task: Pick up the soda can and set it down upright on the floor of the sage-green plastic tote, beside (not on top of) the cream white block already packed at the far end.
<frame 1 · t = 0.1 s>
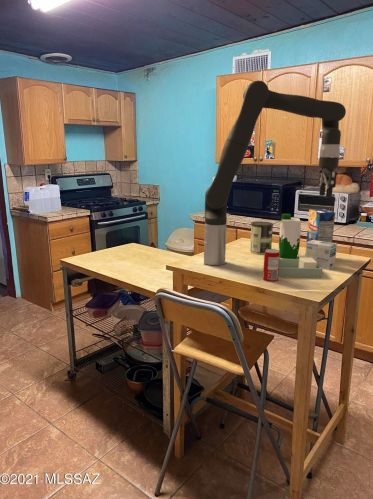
hand: (325, 196, 160), 29 cm above the table, tool pointing down, fingers open, 8 cm apart
cream white block: (306, 271, 154), point 1 cm above the table, touching tote
beverage box: (317, 259, 176), on the table
milk carton: (288, 258, 177), on the table
coffee can: (260, 252, 187), on the table
tote: (294, 273, 155), on the table
light bulb box: (319, 267, 163), on the table
soda can: (270, 281, 145), on the table
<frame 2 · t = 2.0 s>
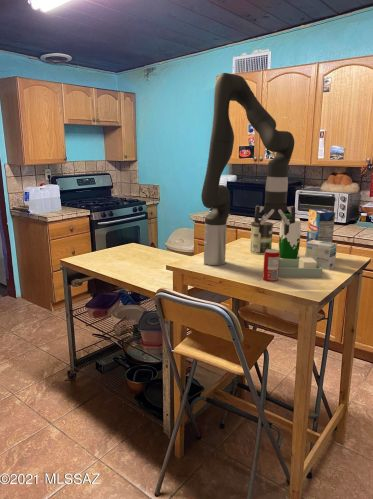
hand: (273, 234, 141), 18 cm above the table, tool pointing down, fingers open, 8 cm apart
nothing on the table moved.
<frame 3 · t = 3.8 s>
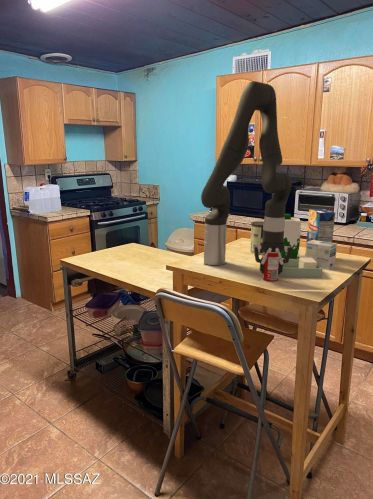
hand: (270, 273, 144), 3 cm above the table, tool pointing down, fingers closed on soda can, 5 cm apart
soda can: (270, 281, 145), on the table, touching gripper
everything else where it was.
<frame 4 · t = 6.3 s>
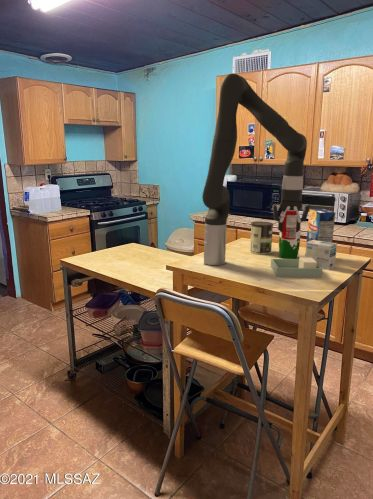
hand: (288, 231, 150), 17 cm above the table, tool pointing down, fingers closed on soda can, 5 cm apart
soda can: (288, 239, 151), point 14 cm above the table, touching gripper
everything else where it was.
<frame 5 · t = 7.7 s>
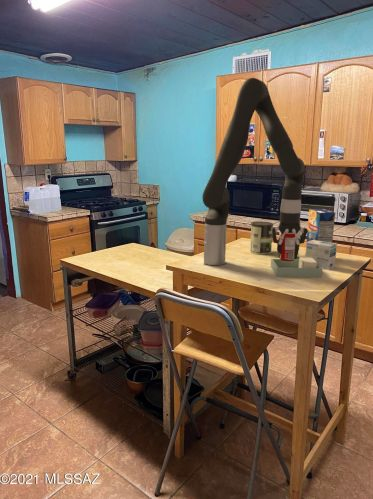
hand: (287, 253, 153), 8 cm above the table, tool pointing down, fingers closed on soda can, 5 cm apart
soda can: (286, 261, 153), point 5 cm above the table, touching gripper
everything else where it was.
when the fingers open (5 cm above the table, at t = 8.9 s): soda can drops 1 cm, resting on tote.
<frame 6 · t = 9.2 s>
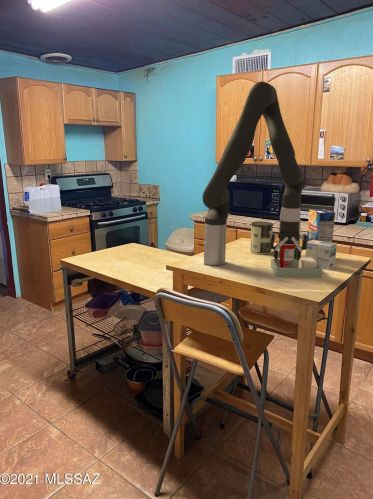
hand: (286, 259, 153), 6 cm above the table, tool pointing down, fingers open, 8 cm apart
soda can: (285, 272, 155), resting on tote
everything else where it was.
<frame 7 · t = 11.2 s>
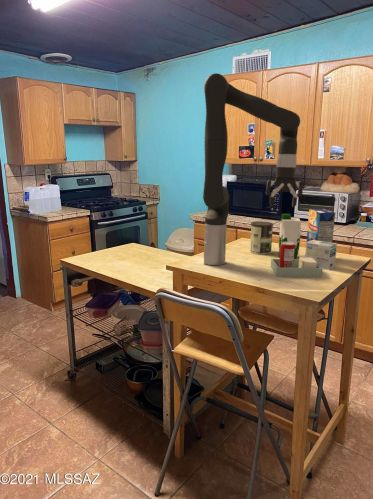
hand: (282, 206, 157), 25 cm above the table, tool pointing down, fingers open, 8 cm apart
nothing on the table moved.
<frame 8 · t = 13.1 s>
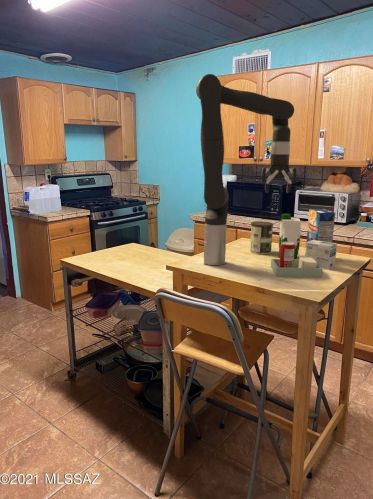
hand: (277, 192, 164), 30 cm above the table, tool pointing down, fingers open, 8 cm apart
nothing on the table moved.
at the end: soda can inside the target area on the tote (0.1 cm from its centre), point 0.4 cm above the tote's base; soda can tilted 0°; cream white block moved 0.0 cm from its start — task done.
